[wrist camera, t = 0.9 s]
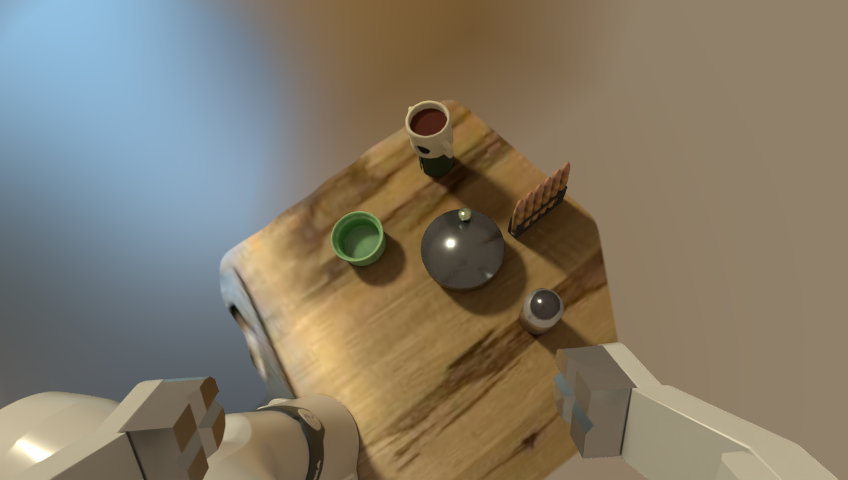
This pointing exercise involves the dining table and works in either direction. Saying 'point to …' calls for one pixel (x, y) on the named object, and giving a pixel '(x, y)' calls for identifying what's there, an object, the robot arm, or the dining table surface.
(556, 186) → the ammunition clip
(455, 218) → the grey lid
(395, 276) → the dining table surface
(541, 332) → the clear bottle
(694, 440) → the robot arm
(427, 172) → the character mug
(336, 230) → the ramekin
